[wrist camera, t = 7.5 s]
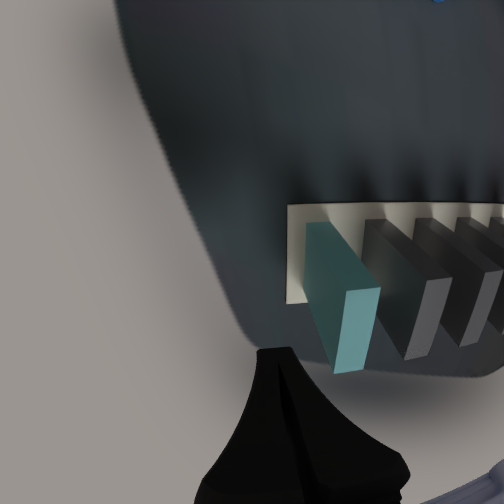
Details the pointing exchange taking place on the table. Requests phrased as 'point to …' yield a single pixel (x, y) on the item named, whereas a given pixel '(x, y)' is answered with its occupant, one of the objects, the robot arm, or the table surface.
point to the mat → (353, 223)
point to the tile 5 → (497, 225)
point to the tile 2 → (405, 287)
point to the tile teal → (339, 296)
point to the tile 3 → (460, 279)
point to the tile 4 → (495, 249)
